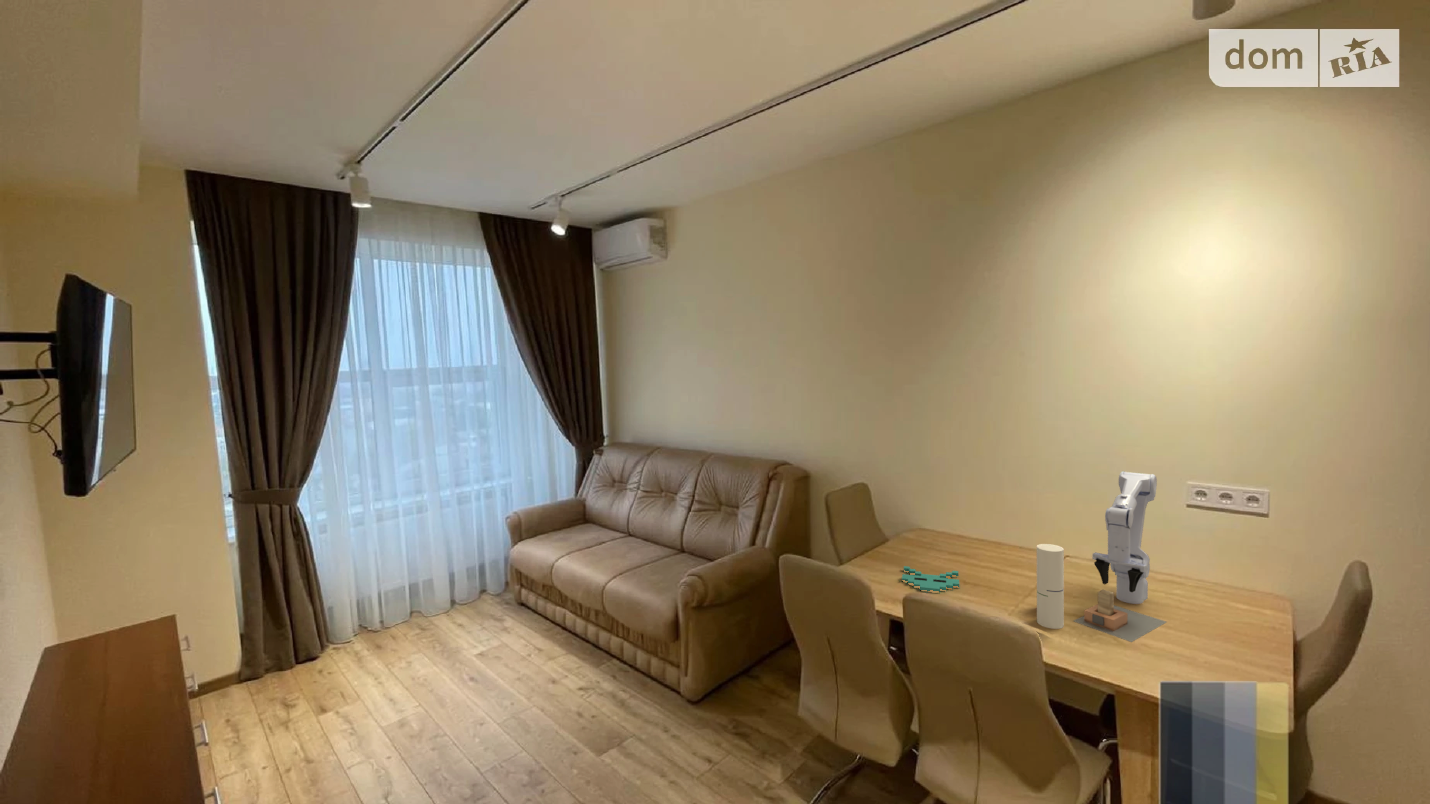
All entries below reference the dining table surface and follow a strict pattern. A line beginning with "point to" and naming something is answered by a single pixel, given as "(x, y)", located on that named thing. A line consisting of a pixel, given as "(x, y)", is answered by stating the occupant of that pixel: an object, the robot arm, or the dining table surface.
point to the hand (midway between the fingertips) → (1118, 587)
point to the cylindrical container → (1050, 586)
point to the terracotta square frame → (1105, 618)
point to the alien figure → (930, 580)
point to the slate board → (1129, 625)
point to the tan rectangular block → (1106, 602)
